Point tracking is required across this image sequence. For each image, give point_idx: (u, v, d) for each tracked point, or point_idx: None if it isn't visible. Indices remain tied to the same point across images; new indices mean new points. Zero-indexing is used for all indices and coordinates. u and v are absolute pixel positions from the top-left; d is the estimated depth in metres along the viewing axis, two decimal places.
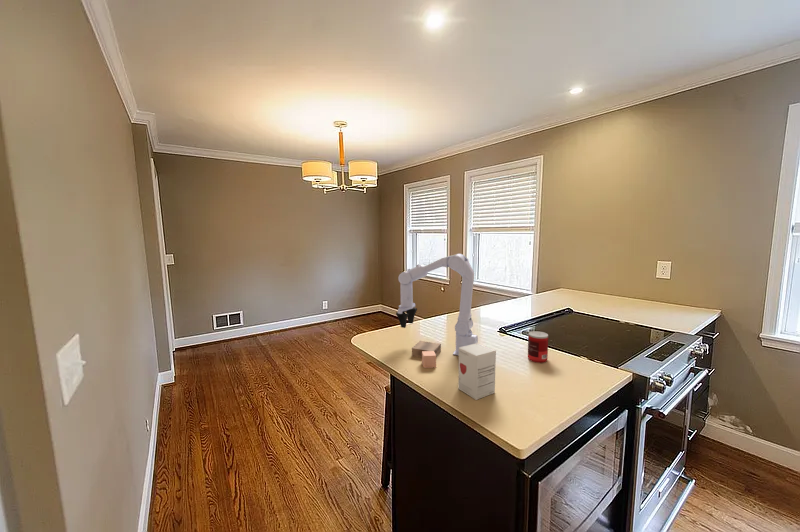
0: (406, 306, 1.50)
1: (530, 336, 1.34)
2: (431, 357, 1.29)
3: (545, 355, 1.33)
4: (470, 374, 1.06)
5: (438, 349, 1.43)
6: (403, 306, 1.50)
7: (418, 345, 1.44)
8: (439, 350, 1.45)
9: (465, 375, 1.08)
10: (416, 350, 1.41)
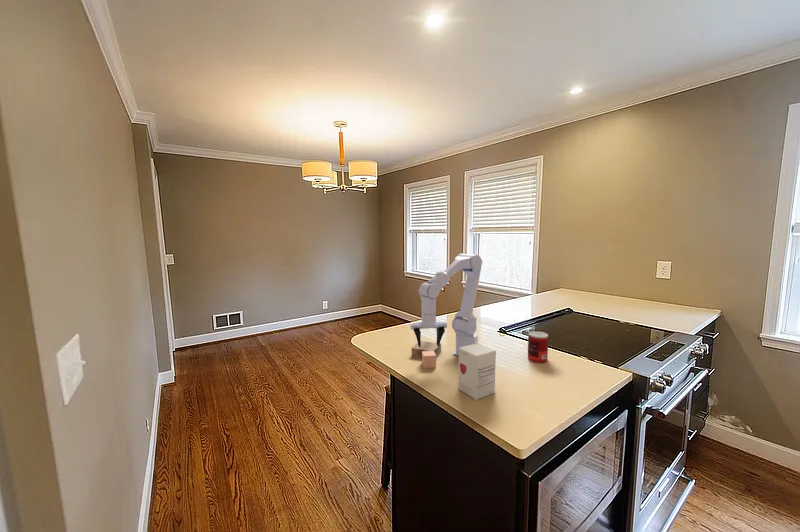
0: (422, 323, 1.29)
1: (530, 336, 1.34)
2: (431, 357, 1.29)
3: (545, 355, 1.33)
4: (470, 374, 1.06)
5: (437, 349, 1.43)
6: (421, 322, 1.30)
7: None
8: (439, 350, 1.45)
9: (465, 375, 1.08)
10: (416, 350, 1.41)
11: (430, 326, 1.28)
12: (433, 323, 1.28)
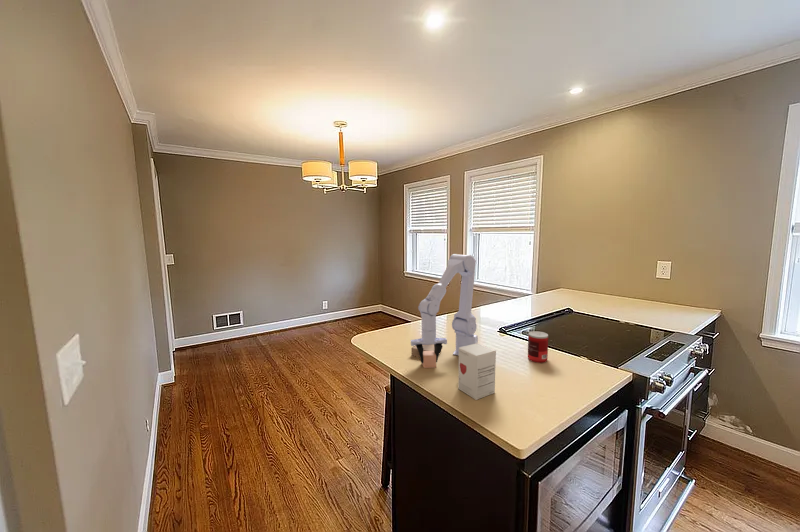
0: (423, 339, 1.30)
1: (530, 336, 1.34)
2: (431, 357, 1.29)
3: (545, 355, 1.33)
4: (470, 374, 1.06)
5: None
6: (421, 338, 1.31)
7: None
8: None
9: (465, 375, 1.08)
10: (416, 350, 1.41)
11: (430, 342, 1.28)
12: (433, 339, 1.29)
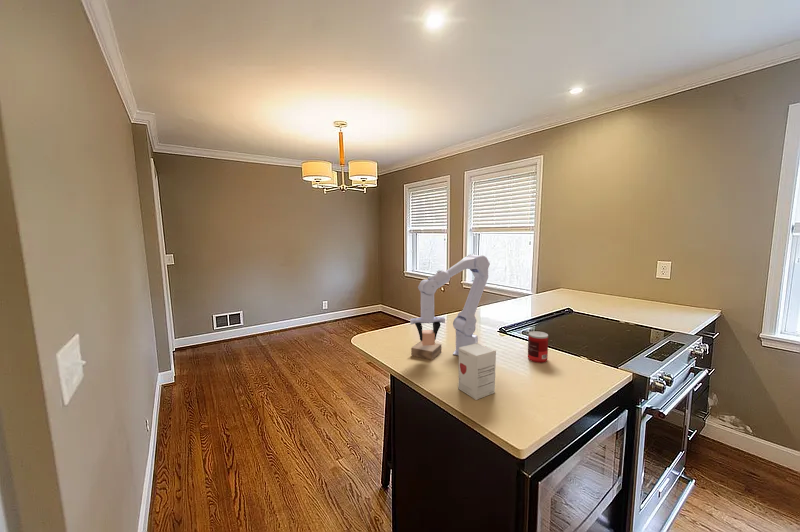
0: (421, 318, 1.35)
1: (530, 336, 1.34)
2: (430, 335, 1.35)
3: (545, 355, 1.33)
4: (470, 374, 1.06)
5: (437, 350, 1.42)
6: (420, 317, 1.37)
7: (418, 345, 1.45)
8: (439, 350, 1.44)
9: (465, 375, 1.08)
10: (415, 350, 1.41)
11: (429, 321, 1.34)
12: (431, 318, 1.35)
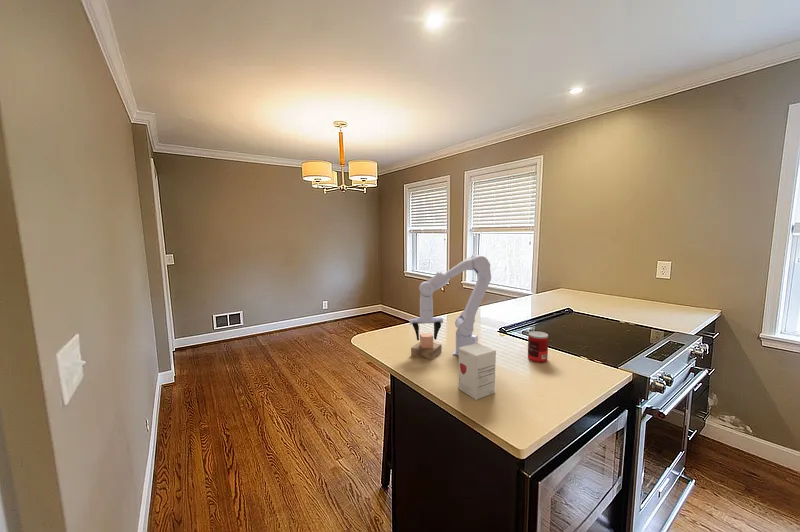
0: (420, 318, 1.41)
1: (530, 336, 1.34)
2: (428, 338, 1.41)
3: (545, 355, 1.33)
4: (470, 374, 1.06)
5: (437, 350, 1.42)
6: (419, 318, 1.43)
7: (418, 345, 1.45)
8: (439, 351, 1.44)
9: (465, 375, 1.08)
10: (415, 350, 1.41)
11: (427, 321, 1.40)
12: (430, 318, 1.40)
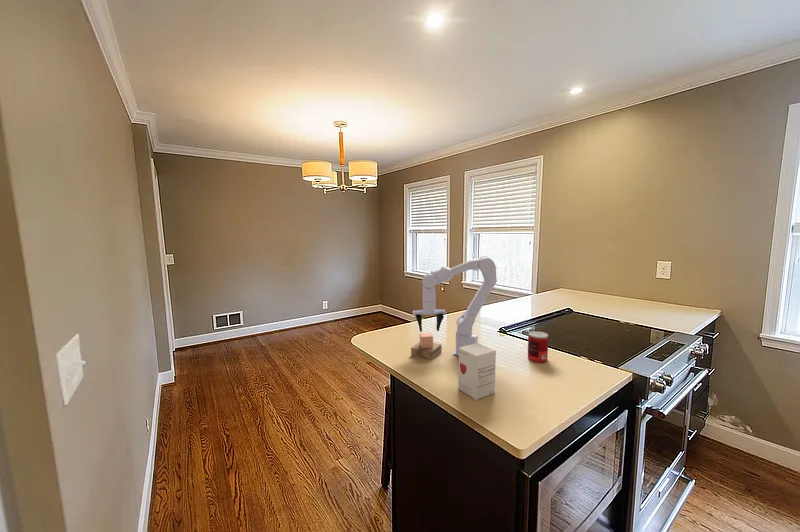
0: (423, 310, 1.43)
1: (530, 336, 1.34)
2: (428, 338, 1.41)
3: (545, 355, 1.33)
4: (470, 374, 1.06)
5: (437, 350, 1.42)
6: None
7: (418, 345, 1.45)
8: (439, 351, 1.44)
9: (465, 375, 1.08)
10: (415, 350, 1.41)
11: (430, 313, 1.42)
12: (433, 310, 1.42)
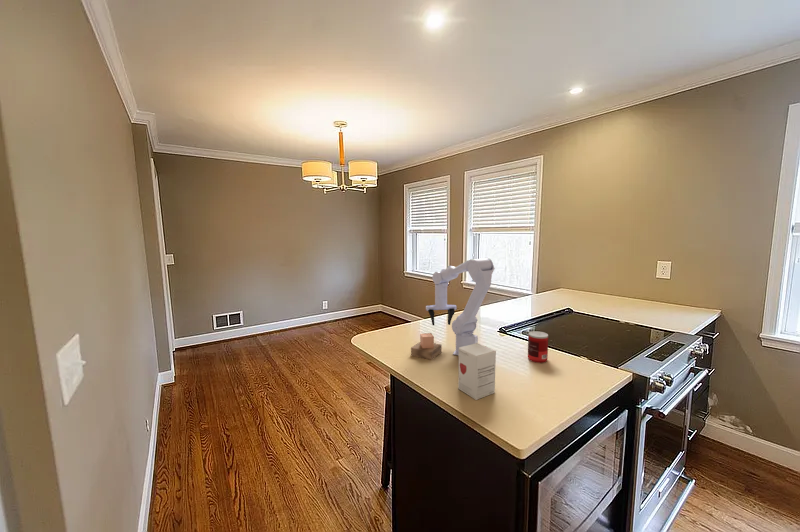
0: (436, 305, 1.54)
1: (530, 336, 1.34)
2: (429, 338, 1.41)
3: (545, 355, 1.33)
4: (470, 374, 1.06)
5: (437, 350, 1.42)
6: (435, 304, 1.55)
7: (418, 345, 1.45)
8: (439, 351, 1.44)
9: (465, 375, 1.08)
10: (415, 350, 1.41)
11: (442, 307, 1.52)
12: (445, 305, 1.53)
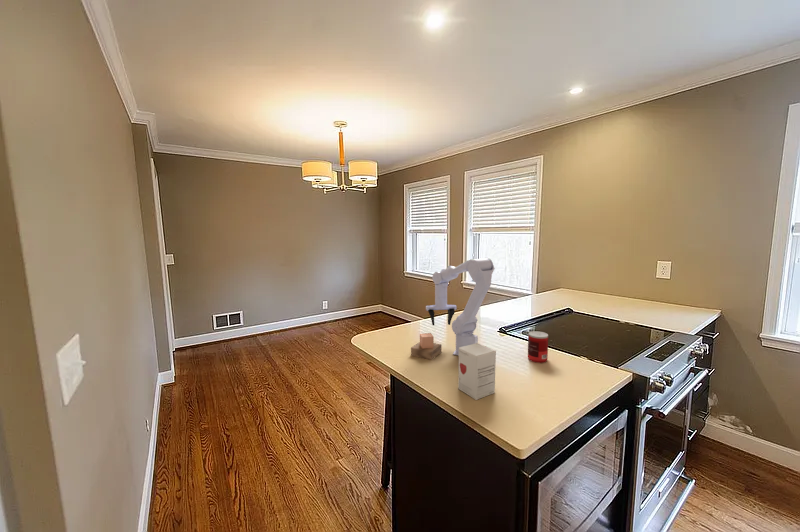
0: (436, 305, 1.54)
1: (530, 336, 1.34)
2: (429, 338, 1.41)
3: (545, 355, 1.33)
4: (470, 374, 1.06)
5: (437, 350, 1.42)
6: (435, 304, 1.55)
7: (418, 345, 1.45)
8: (439, 351, 1.44)
9: (465, 375, 1.08)
10: (415, 350, 1.41)
11: (442, 307, 1.52)
12: (445, 305, 1.53)
